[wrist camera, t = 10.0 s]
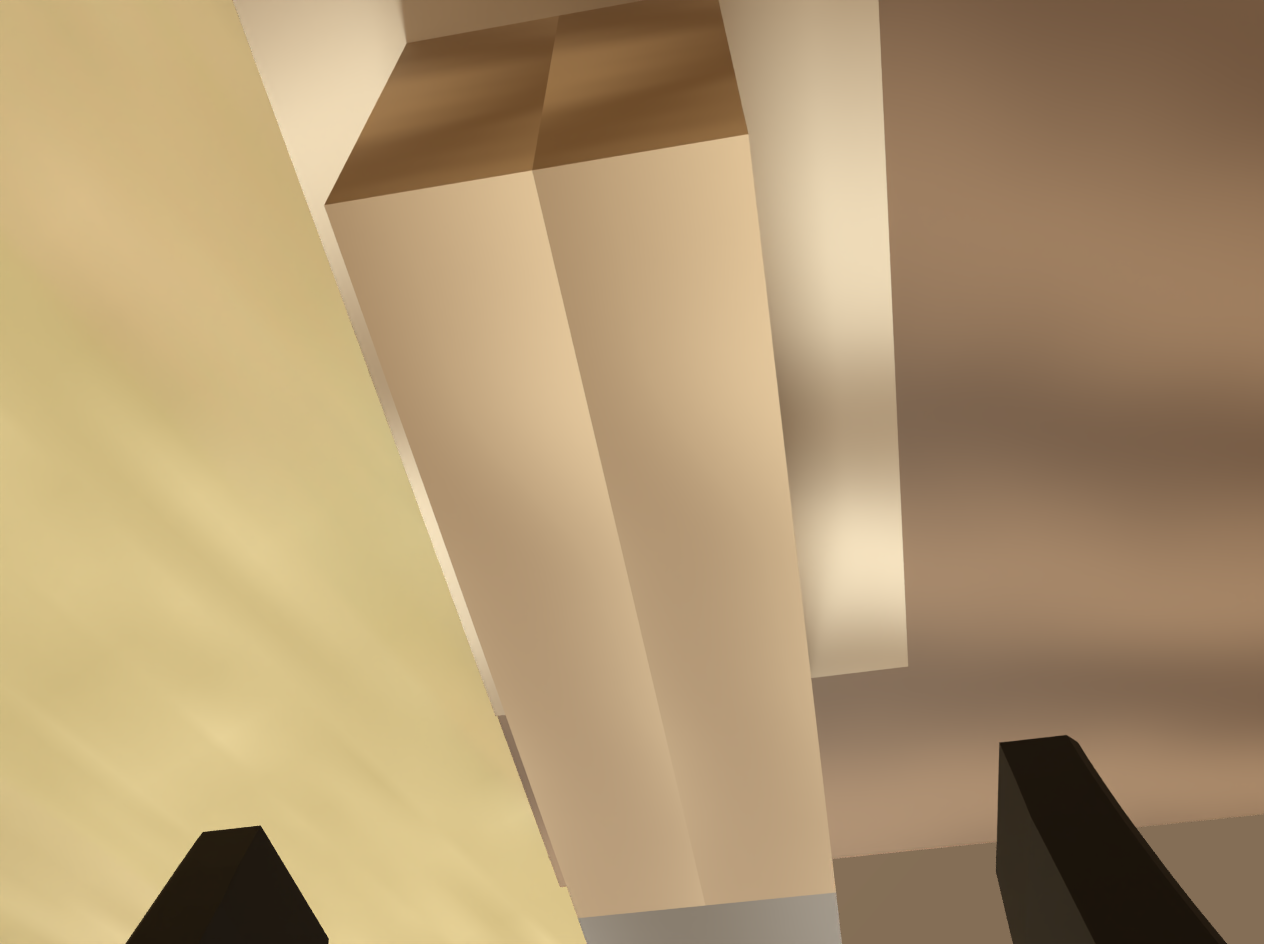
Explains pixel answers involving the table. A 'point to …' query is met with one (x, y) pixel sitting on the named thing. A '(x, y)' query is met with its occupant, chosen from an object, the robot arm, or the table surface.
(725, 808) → the tan wooden bar
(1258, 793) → the board
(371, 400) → the table surface
